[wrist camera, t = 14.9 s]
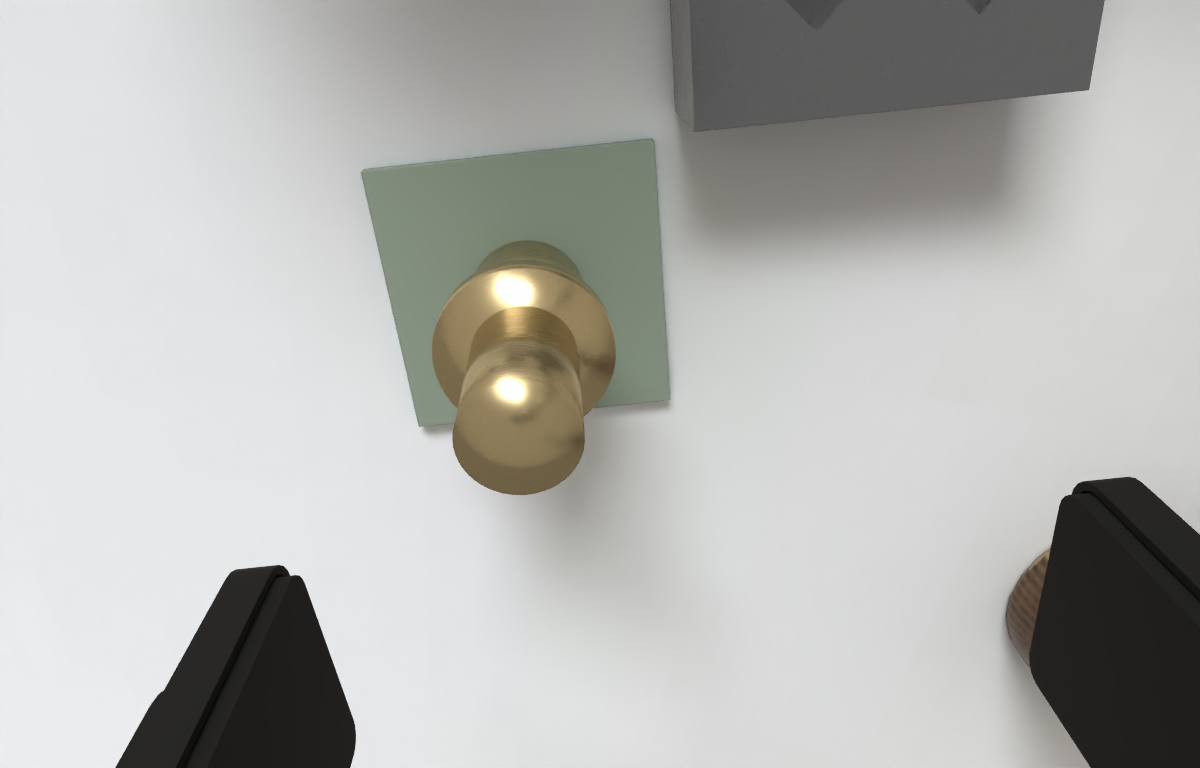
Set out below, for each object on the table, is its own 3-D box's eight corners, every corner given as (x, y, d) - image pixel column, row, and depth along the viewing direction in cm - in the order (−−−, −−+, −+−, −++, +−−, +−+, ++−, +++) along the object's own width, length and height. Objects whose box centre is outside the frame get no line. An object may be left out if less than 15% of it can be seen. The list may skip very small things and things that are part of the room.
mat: (652, 138, 33) (654, 141, 33) (668, 393, 39) (670, 399, 38) (363, 169, 33) (360, 172, 33) (420, 420, 39) (419, 426, 38)
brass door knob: (598, 211, 34) (621, 326, 23) (611, 356, 37) (637, 518, 26) (437, 228, 34) (383, 351, 23) (464, 372, 37) (428, 541, 26)
